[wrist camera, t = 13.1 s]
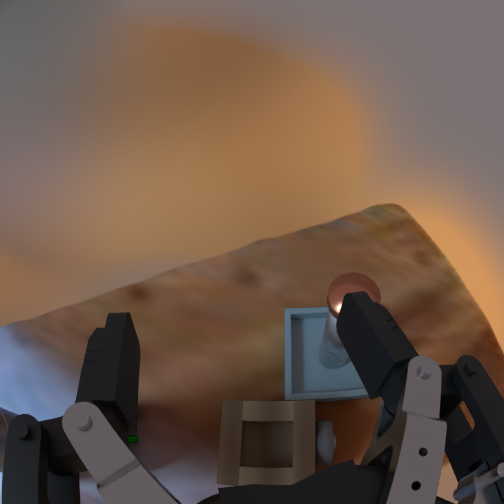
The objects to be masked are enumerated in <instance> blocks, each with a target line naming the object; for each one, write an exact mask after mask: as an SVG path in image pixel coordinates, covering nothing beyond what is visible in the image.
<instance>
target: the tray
mask: <svg viewBox="0 0 504 504" xmlns="http://www.w3.org/2000/svg"><path fill="white" fill-rule="evenodd" d="M328 311H329V309H328V307H319V308H296V309H285V401H300V400H315V402H328V401H341V400H351V399H361V398H369V395H368V393H367V391H366V389H365V387H364V385H363V383H362V381H361V379H360V377H359V375H358V373H357V371H356V369H355V367H354V365H353V363H352V361H351V360H350V358H349V357H348V359H347V361H346V362H345V364H344V365H343V366H341V367H340V368H337V369H328V368H326V367H324V366H323V365H322V364H321V363H320V361H319V359H318V351H319V348H320V344H321V340H322V336H323V332H324V328H325V324H326V320H327V316H328Z"/></svg>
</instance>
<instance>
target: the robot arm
mask: <svg viewBox="0 0 504 504" xmlns="http://www.w3.org/2000/svg"><path fill="white" fill-rule="evenodd" d="M336 330H337V334H338V336H339V338H340V340H341V342H342V344H343V346H344V348H345V350H346V352H347V354H348V356H349V358H350V360H351V361H352V363H353V365H354V367H355V369H356V371H357V373H358V375H359V377H360V379H361V381H362V383H363V385H364V387H365V389H366V391H367V393H368V395H369V397H370V399H374V398H377V397H380V396H381V397H382V399H383V402H382V403H381V406H380V410H379V415H378V419H377V422H376V426H375V430H374V434H373V437H372V441H371V444H370V446H369V448H368V450H367V451H366V453H365V455H364V457H363V459H362V462H361V464H360V465H355V463H354V461H353V459H352V460H349V461H346V462H343V463H340V464H337V465H334V466H330V467H327V468H323V469H321V470H319V471H318V472H316V473H314V474H312V475H310V476H308V477H306V478H304V479H303V480H301V481H299V482H297V483H294V484H291V485H267V484H249V485H242V486H234V487H225V488H218V490H219V493H218V494H215V495H212V496H210V497H208V498H206V499H204V500H202V501H200V502H199V503H197V504H454V503H452V502H449V501H447V500H444V499H442V498H440V497H438V496H436V495H437V490H438V485H439V480H440V475H441V469H442V463H443V456H444V450H445V453H446V455H447V457H448V459H449V462H450V464H451V466H452V469H453V471H454V474H455V476H456V478H457V481H458V486H457V489H456V490H455V491H454V493H453V497H454V499H455V500H458V504H504V400H503V398H502V397H501V395H500V393H499V391H498V390H497V388H496V387H495V385H494V383H493V382H492V380H491V378H490V377H489V375H488V374H487V372H486V371H485V369H484V368H483V366H482V365H481V363H480V362H479V361H478V360H477V359H476V358H474V357H472V356H469V355H464V356H461V357H460V358H459V359H458V360H457V362H456V363H455V365H438V364H437V363H436V362H435V361H434V360H433V359H431V358H429V357H426V356H419V355H418V353H417V352H416V350H415V349H414V347H413V346H412V344H411V343H410V342H409V340H408V339H407V337H406V336H405V334H404V333H403V331H402V330H401V329H400V328H399V326H398V324H397V323H396V322H395V320H393V317H392V316H391V315H390V313H389V312H388V310H387V309H386V308H384V307H383V306H382V305H380V304H379V303H378V302H373V301H372V299H371V298H370V296H369V295H368V294H367V292H365V291H358V292H352V293H346V294H345V296H344V298H343V302H342V305H341V308H340V312H339V315H338V318H337V321H336ZM139 368H140V345H139V340H138V337H137V334H136V331H135V328H134V325H133V321H132V318H131V315H130V313H129V312H125V313H109V314H108V316H107V320H106V325H105V328H96V330H95V331H94V332H93V334H92V335H91V336H90V338H89V340H88V344H87V349H86V353H85V357H84V363H83V366H82V371H81V376H80V381H79V386H78V392H77V397H76V401H75V404H73V405H71V406H70V407H69V408H68V409H67V410H66V411H65V413H64V415H63V416H61V417H58V418H54V419H49V420H44V421H40V422H38V421H37V420H36V419H35V418H34V417H33V416H31V415H28V414H21V415H18V414H15V413H13V412H10V411H8V410H5V409H3V408H1V407H0V472H2V473H3V478H2V504H80V487H79V472H83V471H89V472H90V474H91V475H92V477H93V478H94V480H95V481H96V483H97V489H98V491H99V493H100V495H101V496H102V498H103V499H104V500H105V502H106V503H107V504H182V503H181V502H180V501H179V500H178V499H177V498H176V497H175V496H174V495H173V494H171V493H170V492H169V491H168V490H167V489H166V488H165V487H164V486H163V485H162V484H161V483H160V482H159V480H158V479H157V478H156V477H155V476H154V475H153V474H152V473H151V472H150V471H149V470H148V468H147V467H146V466H145V465H144V464H143V463H142V462H141V460H140V459H139V458H138V457H137V456H136V454H135V453H134V452H133V451H132V450H131V448H130V447H129V446H128V433H129V434H137V409H138V385H139ZM462 401H464V402H465V404H466V406H467V408H468V410H469V411H470V413H471V415H472V417H473V419H474V422H475V426H474V429H473V430H472V429H471V427H470V425H469V423H468V421H467V419H466V417H465V415H464V413H463V411H462V410H461V408H460V406H459V405H460V404H461V402H462Z"/></svg>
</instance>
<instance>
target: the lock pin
mask: <svg viewBox="0 0 504 504" xmlns="http://www.w3.org/2000/svg"><path fill="white" fill-rule="evenodd" d="M358 291H365V292H367V294H368V295H369V296H370V298H371V299H372V301H373V302H378V303H379V304H380V300H381V295H380V291H379V288H378V286H377V285H376V284H375V282H374V281H373V280H372V279H370V278H369V277H367V276H365V275H363V274H359V273H346V274H342V275H340V276H338V277H337V278H336V279H334V281H333V282H332V283H331V285H330V287H329V291H328V296H327V306H328V309H329V311H328V316H327V320H326V324H325V328H324V332H323V336H322V340H321V344H320V348H319V351H318V359H319V361H320V363H321V364H322V365H323V366H324V367H326V368H328V369H337V368H340V367H341V366H343V365H344V364H345V362H346V361H347V359H348V357H349V356H348V354H347V352H346V350H345V348H344V346H343V344H342V342H341V340H340V338H339V336H338V334H337V330H336V321H337V318H338V315H339V312H340V308H341V305H342V302H343V298H344V296H345V294H346V293H352V292H358Z"/></svg>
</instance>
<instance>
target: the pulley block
mask: <svg viewBox="0 0 504 504" xmlns="http://www.w3.org/2000/svg"><path fill="white" fill-rule="evenodd" d="M335 448H336V437H335V435H334V432H333V425H332V421H331V420H329V421H315V400H300V401H239V400H223V402H222V415H221V429H220V443H219V458H218V473H217V484H223V485H234V486H242V485H249V484H267V485H291V484H294V483H297V482H299V481H301V480H303V479H304V478H306V477H308V476H310V475H312V474H314V473H315V466H324V465H331V464H332V461H333V454H334V450H335Z"/></svg>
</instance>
